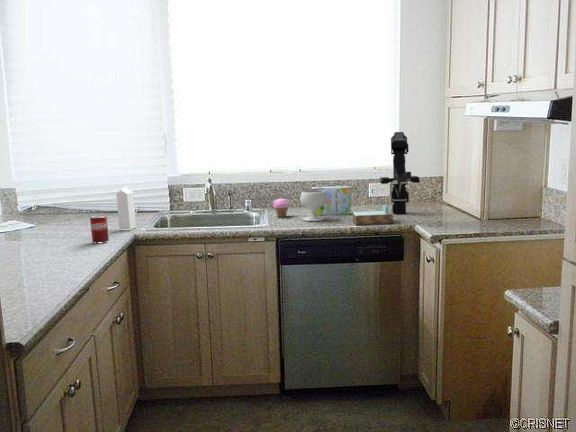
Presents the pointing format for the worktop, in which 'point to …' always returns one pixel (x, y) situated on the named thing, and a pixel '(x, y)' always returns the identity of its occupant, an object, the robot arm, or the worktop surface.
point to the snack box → (335, 200)
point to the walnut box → (373, 219)
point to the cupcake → (281, 207)
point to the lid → (373, 212)
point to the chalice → (313, 202)
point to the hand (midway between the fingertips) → (399, 197)
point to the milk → (126, 208)
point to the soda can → (99, 228)
